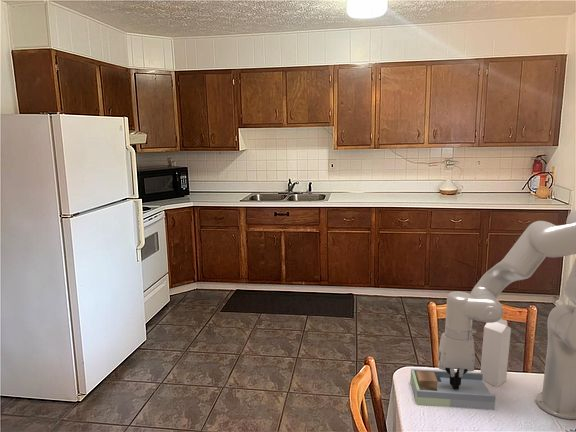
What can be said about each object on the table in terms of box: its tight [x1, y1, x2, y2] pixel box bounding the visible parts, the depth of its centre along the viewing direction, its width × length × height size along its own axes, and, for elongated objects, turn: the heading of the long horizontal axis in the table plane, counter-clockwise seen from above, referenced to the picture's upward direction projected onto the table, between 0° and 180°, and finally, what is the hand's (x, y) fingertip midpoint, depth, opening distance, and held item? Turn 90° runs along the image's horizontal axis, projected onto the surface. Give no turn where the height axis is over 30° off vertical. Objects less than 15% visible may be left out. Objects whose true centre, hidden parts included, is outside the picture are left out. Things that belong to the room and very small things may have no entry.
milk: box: [479, 318, 512, 388], centre depth 144 cm, size 6×6×22 cm
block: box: [416, 371, 438, 391], centre depth 138 cm, size 6×6×4 cm
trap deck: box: [410, 368, 496, 411], centre depth 138 cm, size 22×13×4 cm, turn 83°
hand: (454, 386), depth 137 cm, fingers closed
